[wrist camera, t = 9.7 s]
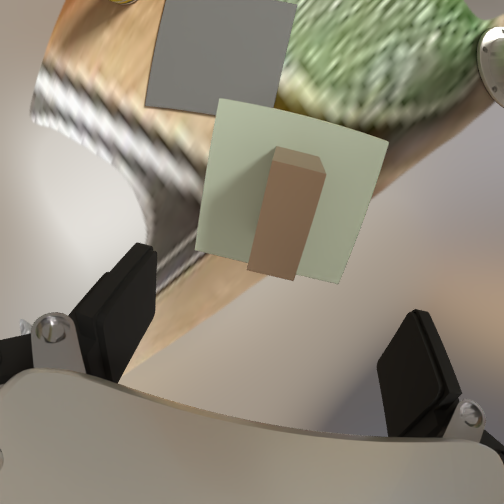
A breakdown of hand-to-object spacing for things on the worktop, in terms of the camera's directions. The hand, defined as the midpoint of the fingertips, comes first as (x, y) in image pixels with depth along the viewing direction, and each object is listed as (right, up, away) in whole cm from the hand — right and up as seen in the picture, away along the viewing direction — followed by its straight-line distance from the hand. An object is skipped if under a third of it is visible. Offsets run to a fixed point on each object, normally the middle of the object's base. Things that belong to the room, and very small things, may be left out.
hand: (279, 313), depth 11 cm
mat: (-5, +26, +21) cm, 34 cm away
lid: (+2, +6, +12) cm, 14 cm away
